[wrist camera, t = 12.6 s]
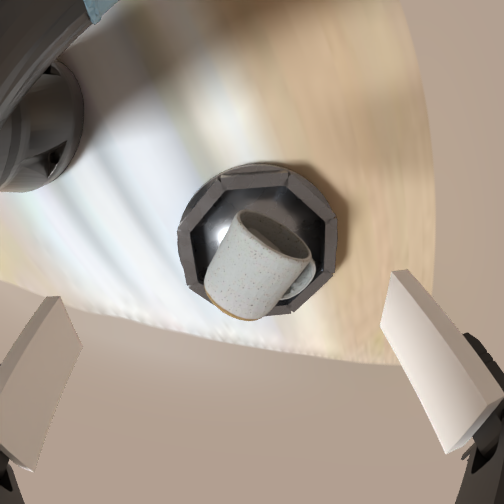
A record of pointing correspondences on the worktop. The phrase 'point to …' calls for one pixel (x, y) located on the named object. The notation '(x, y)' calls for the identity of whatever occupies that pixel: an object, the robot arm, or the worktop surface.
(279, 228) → the ceramic mug
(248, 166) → the ring plate
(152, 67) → the worktop surface
